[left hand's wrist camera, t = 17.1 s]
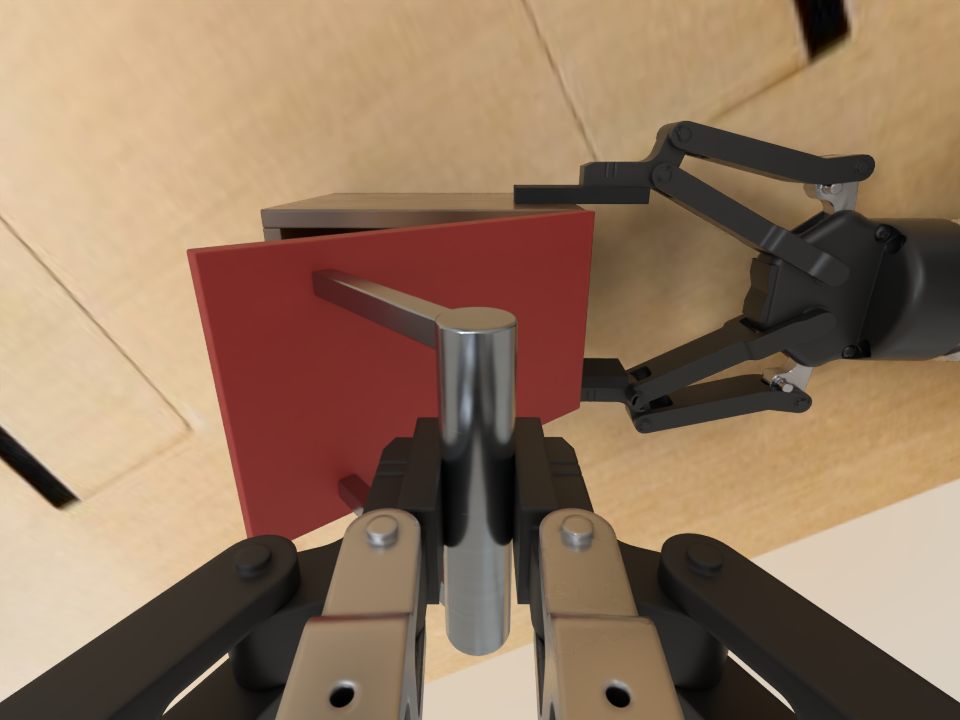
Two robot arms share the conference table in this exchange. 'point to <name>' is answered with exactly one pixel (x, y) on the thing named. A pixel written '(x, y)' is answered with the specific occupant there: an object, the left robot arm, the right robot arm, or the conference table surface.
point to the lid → (398, 376)
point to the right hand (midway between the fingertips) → (512, 288)
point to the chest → (392, 212)
